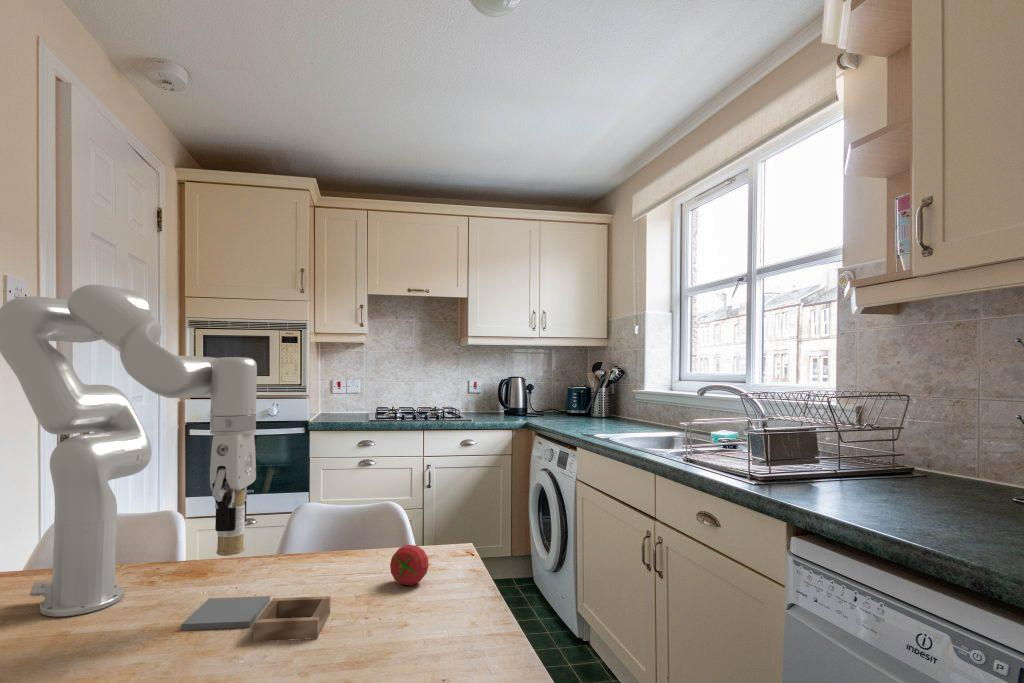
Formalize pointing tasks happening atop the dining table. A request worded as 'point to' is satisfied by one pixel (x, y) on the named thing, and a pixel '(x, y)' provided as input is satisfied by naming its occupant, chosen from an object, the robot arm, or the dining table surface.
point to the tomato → (409, 565)
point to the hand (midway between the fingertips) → (231, 525)
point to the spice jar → (234, 539)
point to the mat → (226, 613)
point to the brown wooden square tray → (292, 628)
